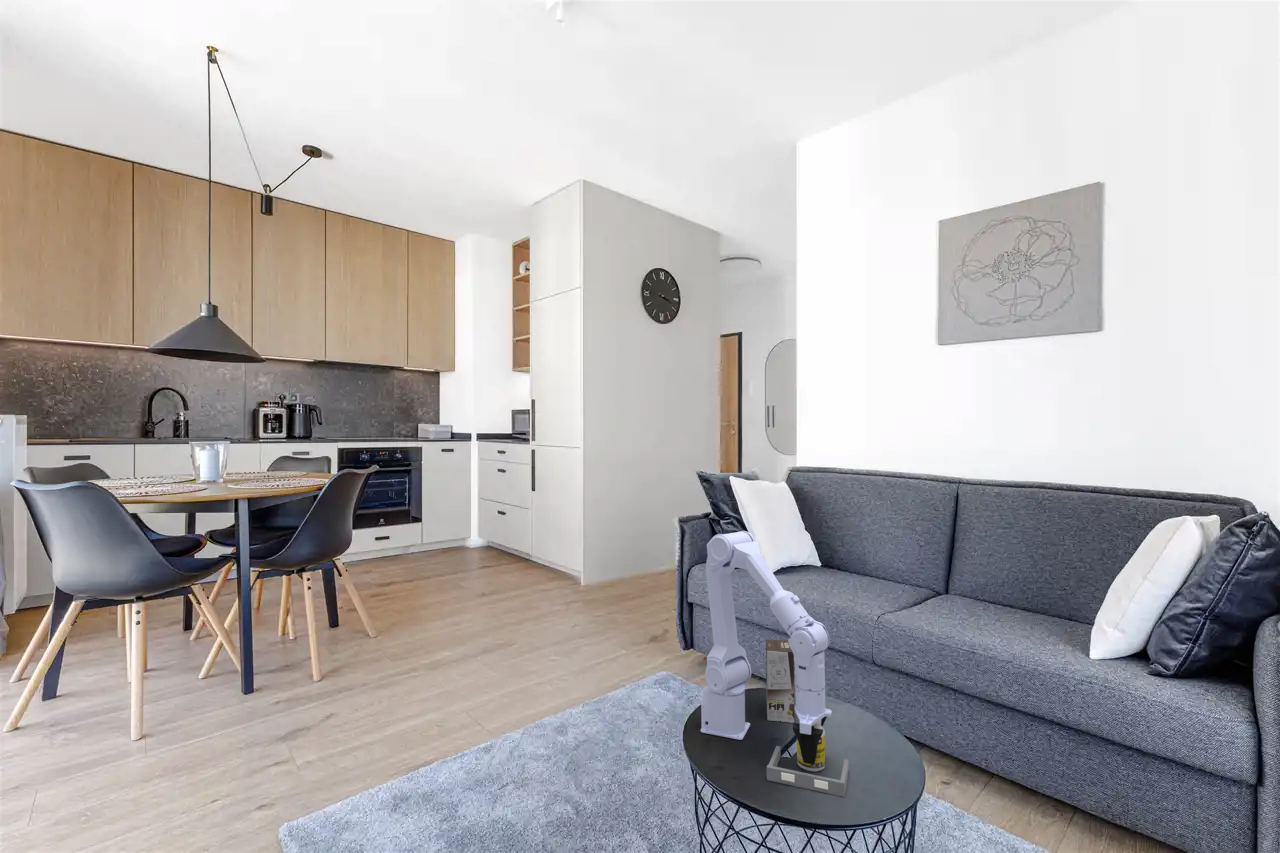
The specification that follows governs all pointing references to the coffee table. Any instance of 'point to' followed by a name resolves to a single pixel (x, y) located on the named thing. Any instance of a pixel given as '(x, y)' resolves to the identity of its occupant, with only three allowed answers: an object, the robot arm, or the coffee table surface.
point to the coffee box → (779, 681)
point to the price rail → (807, 777)
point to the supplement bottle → (819, 757)
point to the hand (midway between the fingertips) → (811, 755)
